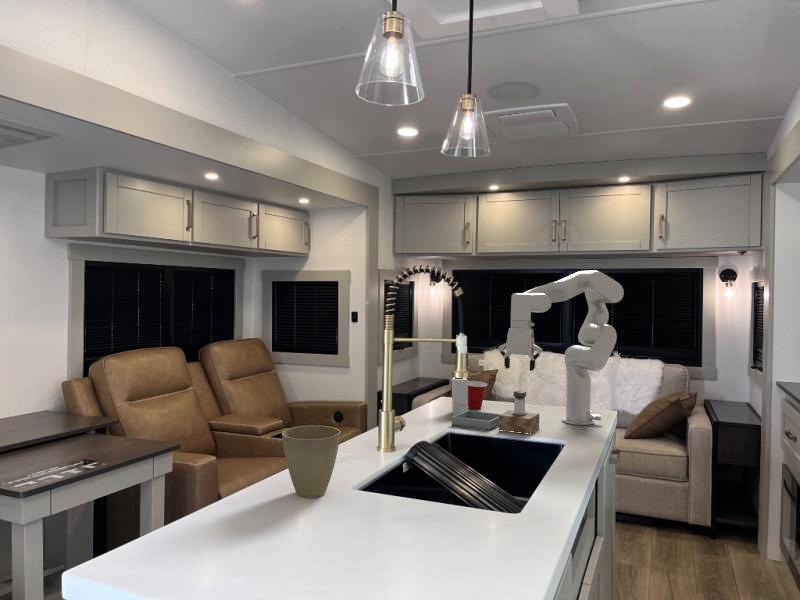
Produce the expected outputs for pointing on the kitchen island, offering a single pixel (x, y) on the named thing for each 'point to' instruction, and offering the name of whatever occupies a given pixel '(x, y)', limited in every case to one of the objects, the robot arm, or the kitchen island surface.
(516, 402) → the pin
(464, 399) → the skincare box
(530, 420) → the pin block
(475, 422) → the tray
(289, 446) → the plant pot
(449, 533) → the kitchen island surface
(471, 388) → the plastic cup
